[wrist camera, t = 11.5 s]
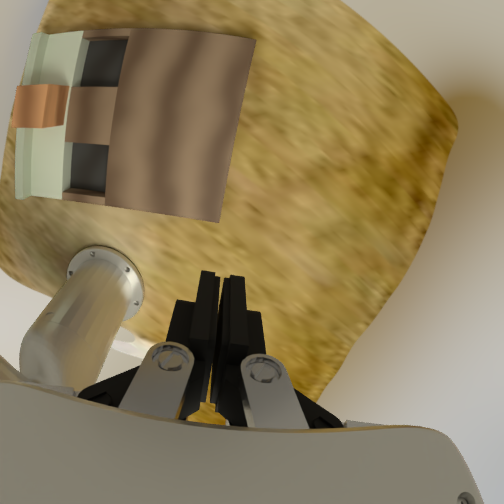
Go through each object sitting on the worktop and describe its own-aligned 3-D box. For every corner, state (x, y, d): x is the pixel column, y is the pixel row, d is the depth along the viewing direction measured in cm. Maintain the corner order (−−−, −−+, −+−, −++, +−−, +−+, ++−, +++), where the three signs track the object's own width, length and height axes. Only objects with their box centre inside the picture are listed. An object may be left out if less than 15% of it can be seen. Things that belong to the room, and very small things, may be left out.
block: (69, 86, 28) (48, 83, 23) (63, 125, 30) (41, 128, 25) (39, 86, 27) (17, 85, 22) (34, 124, 29) (11, 127, 24)
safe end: (92, 34, 27) (76, 27, 23) (70, 194, 36) (54, 204, 32) (50, 38, 26) (32, 33, 22) (32, 189, 35) (15, 198, 31)
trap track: (255, 44, 30) (256, 39, 28) (219, 216, 39) (219, 223, 36) (92, 34, 27) (83, 30, 25) (70, 194, 36) (62, 199, 34)
